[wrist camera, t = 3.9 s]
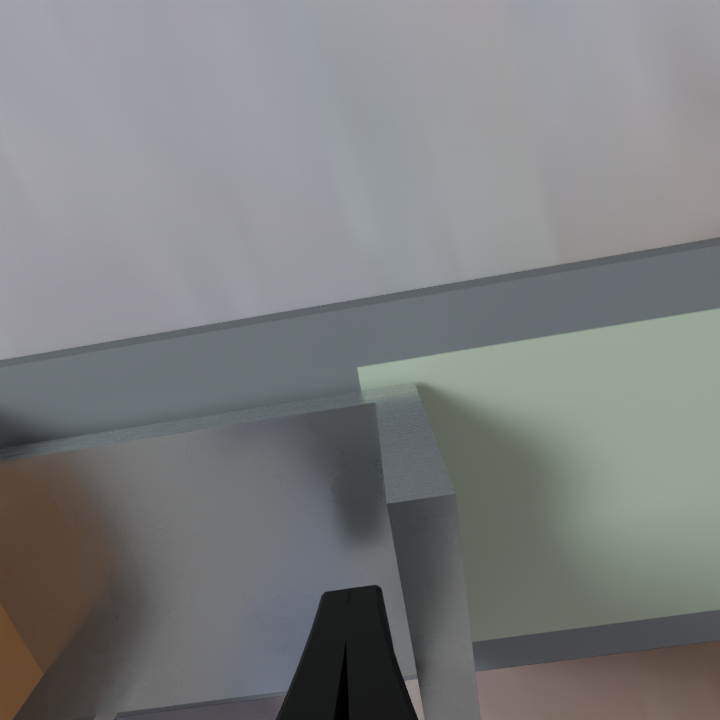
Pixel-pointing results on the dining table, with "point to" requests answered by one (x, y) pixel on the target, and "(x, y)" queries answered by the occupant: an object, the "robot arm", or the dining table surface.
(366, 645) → the robot arm
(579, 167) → the dining table surface
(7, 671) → the block
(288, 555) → the sled
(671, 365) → the track base
